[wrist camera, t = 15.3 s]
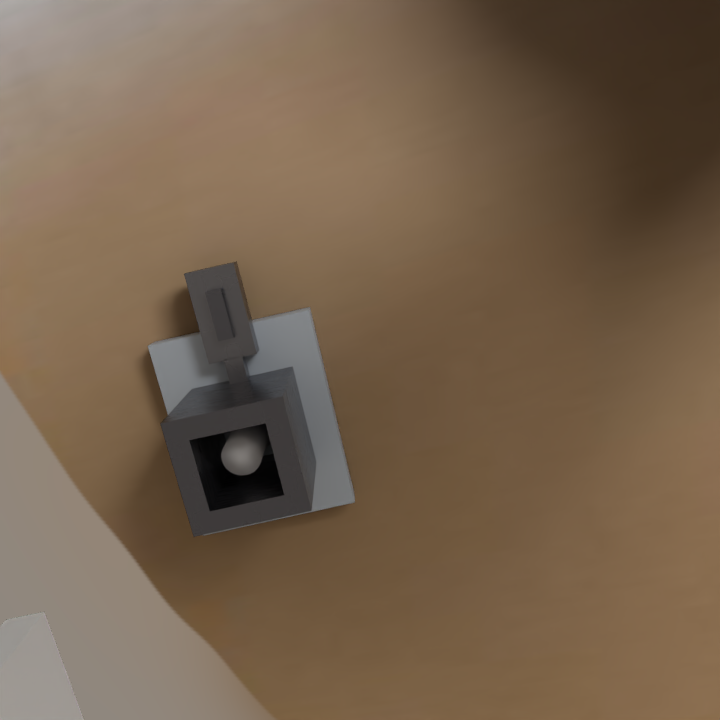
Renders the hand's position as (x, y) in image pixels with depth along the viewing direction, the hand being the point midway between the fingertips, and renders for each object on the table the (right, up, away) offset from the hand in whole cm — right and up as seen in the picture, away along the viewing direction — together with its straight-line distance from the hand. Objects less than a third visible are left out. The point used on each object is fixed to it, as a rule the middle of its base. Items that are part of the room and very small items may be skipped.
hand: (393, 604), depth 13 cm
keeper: (-8, 0, +34) cm, 35 cm away
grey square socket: (-9, +4, +32) cm, 34 cm away
